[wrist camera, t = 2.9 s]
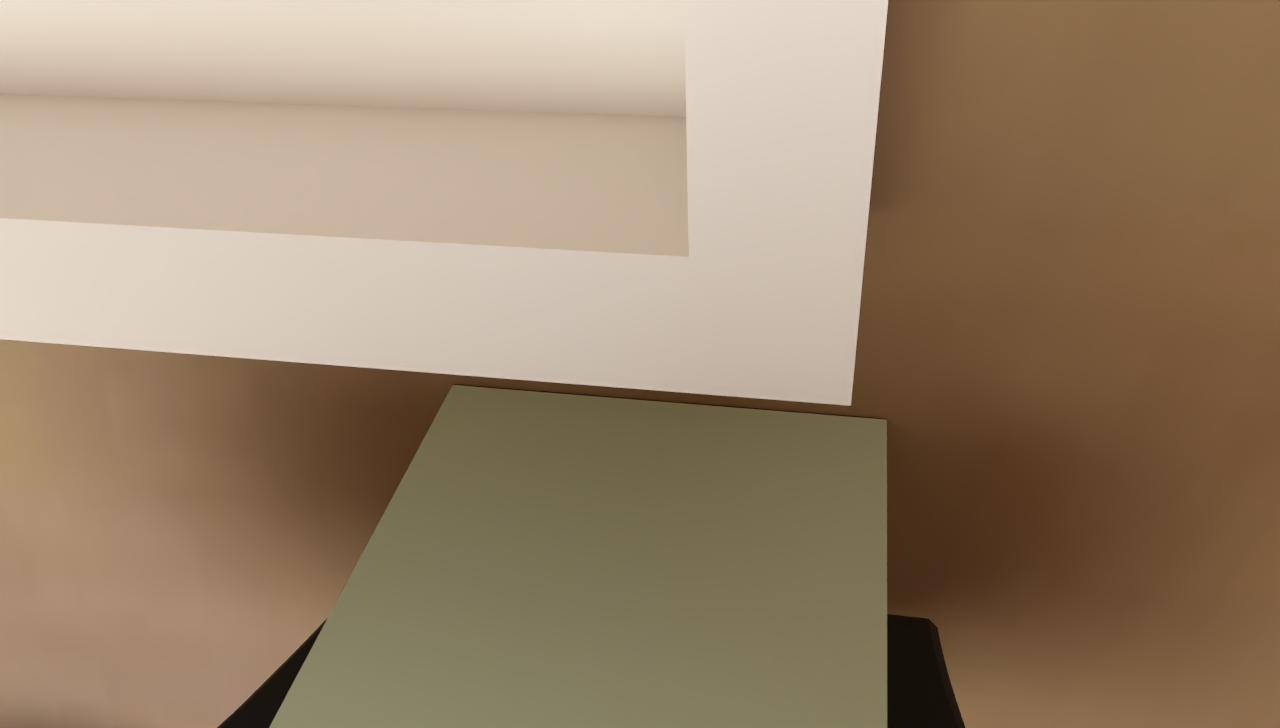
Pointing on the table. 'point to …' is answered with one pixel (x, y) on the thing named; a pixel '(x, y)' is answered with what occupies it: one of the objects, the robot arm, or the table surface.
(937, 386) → the table surface
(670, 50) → the cream bin
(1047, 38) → the table surface
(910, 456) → the table surface
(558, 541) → the sage block
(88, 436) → the table surface
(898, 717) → the robot arm
